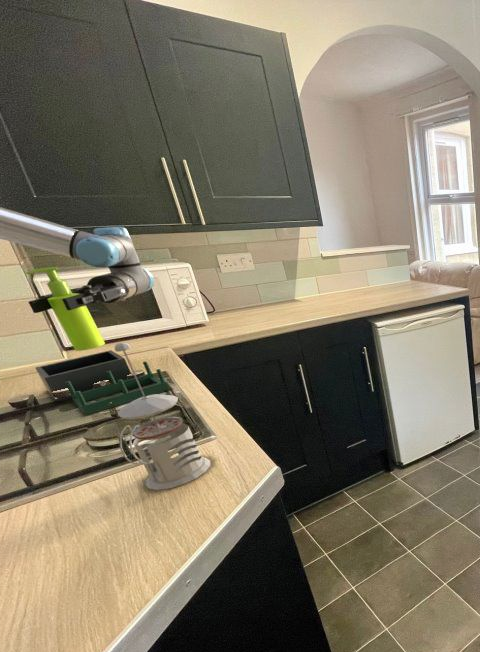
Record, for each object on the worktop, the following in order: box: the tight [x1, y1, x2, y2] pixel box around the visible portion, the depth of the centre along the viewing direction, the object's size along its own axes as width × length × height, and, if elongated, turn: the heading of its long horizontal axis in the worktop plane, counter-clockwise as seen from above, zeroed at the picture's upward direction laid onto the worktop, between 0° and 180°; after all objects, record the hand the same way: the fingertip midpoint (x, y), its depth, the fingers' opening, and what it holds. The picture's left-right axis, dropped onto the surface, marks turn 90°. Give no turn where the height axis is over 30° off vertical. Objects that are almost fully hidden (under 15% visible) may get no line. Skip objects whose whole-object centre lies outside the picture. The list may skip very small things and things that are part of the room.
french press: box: [114, 341, 211, 491], centre depth 71 cm, size 10×12×25 cm
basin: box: [34, 349, 132, 403], centre depth 116 cm, size 16×14×7 cm
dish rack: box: [65, 361, 171, 416], centre depth 109 cm, size 17×12×6 cm
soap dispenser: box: [25, 266, 106, 352], centre depth 103 cm, size 6×7×20 cm
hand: (50, 305), depth 98 cm, fingers closed on soap dispenser, 6 cm apart
